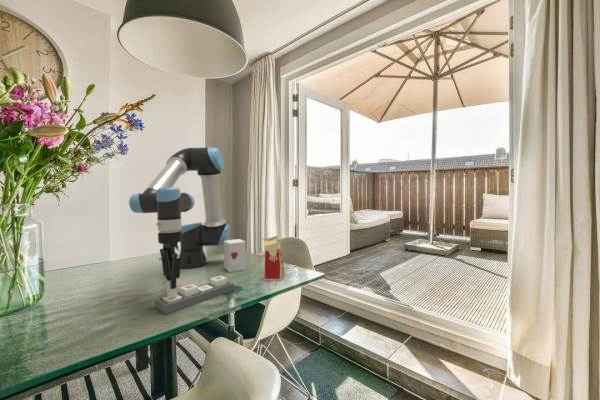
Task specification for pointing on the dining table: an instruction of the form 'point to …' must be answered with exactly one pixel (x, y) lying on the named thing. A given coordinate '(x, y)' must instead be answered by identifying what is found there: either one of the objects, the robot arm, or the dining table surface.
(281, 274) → the milk carton
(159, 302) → the keypad
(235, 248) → the supplement box
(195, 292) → the key rust
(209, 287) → the key ochre
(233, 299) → the dining table surface
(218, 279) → the key slate
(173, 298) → the key teal
